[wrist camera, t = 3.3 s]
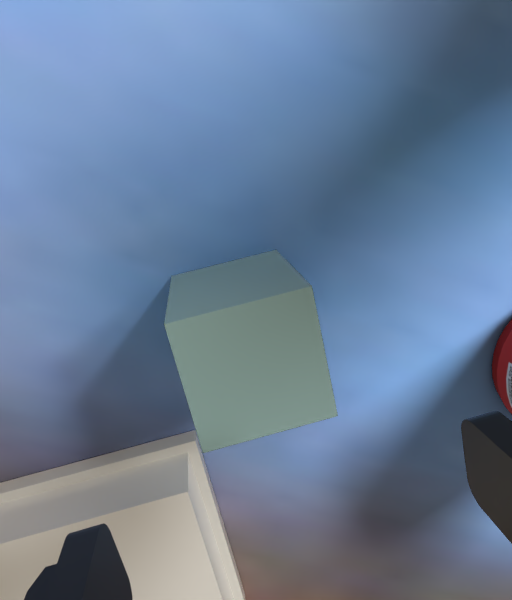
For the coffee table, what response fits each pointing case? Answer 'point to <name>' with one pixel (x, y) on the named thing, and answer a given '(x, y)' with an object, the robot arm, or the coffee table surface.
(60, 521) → the plinth
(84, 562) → the robot arm
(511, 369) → the canned food
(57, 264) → the coffee table surface
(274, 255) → the block
